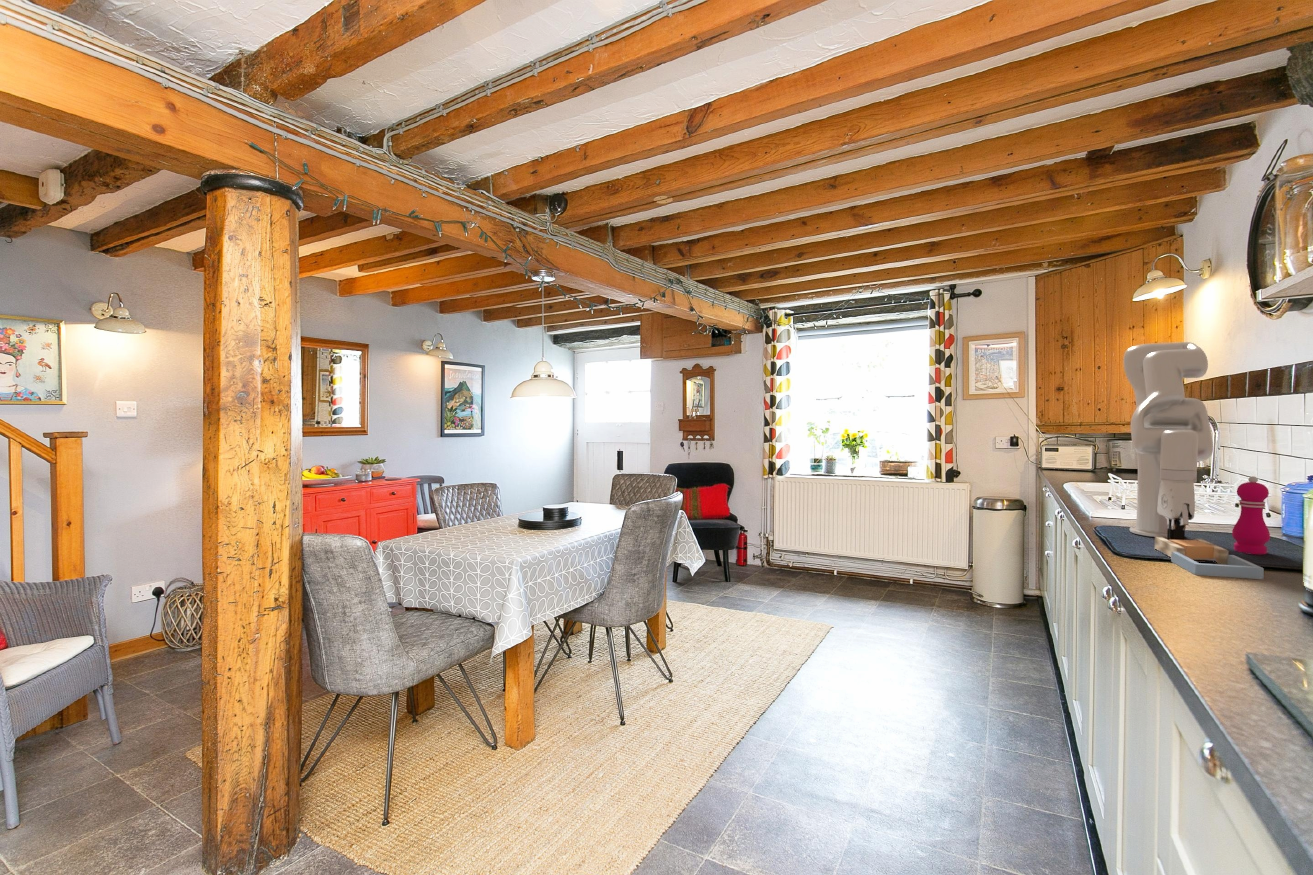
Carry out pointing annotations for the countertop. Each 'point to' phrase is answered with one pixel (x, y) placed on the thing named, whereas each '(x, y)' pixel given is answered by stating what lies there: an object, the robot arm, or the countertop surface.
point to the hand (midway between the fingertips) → (1175, 543)
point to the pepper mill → (1251, 519)
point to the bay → (1220, 567)
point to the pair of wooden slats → (1170, 547)
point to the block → (1196, 549)
